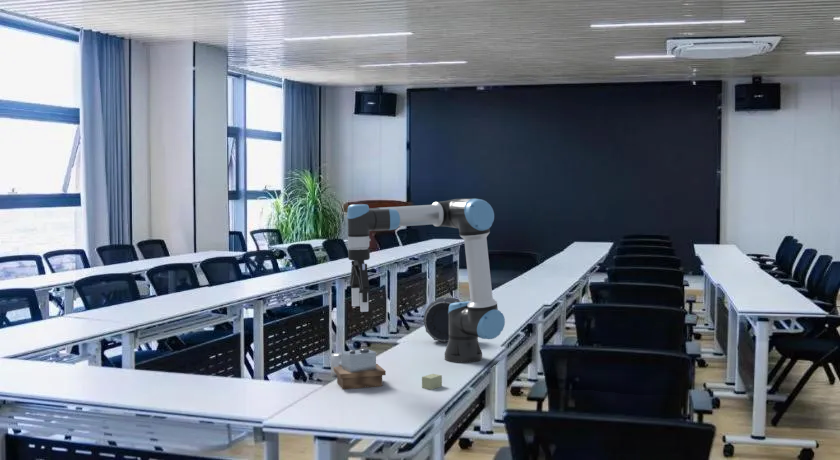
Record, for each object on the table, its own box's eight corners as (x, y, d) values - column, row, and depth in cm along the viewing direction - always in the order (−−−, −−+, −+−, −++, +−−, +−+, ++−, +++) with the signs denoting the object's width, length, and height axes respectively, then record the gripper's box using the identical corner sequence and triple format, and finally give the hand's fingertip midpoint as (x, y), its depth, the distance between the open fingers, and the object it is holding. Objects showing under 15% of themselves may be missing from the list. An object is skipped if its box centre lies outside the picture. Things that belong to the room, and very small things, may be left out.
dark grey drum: (467, 345, 365) (466, 299, 364) (422, 343, 369) (421, 298, 368) (470, 340, 375) (470, 296, 374) (426, 339, 379) (426, 295, 378)
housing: (350, 372, 289) (350, 353, 289) (341, 368, 296) (341, 349, 295) (376, 369, 295) (375, 349, 294) (367, 365, 301) (366, 346, 300)
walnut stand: (377, 378, 303) (377, 363, 303) (385, 386, 292) (385, 370, 292) (333, 382, 299) (333, 367, 299) (340, 390, 287) (340, 374, 287)
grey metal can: (345, 373, 313) (345, 352, 313) (349, 376, 308) (348, 355, 307) (329, 374, 312) (329, 353, 311) (332, 377, 306) (332, 356, 305)
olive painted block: (432, 384, 294) (432, 373, 294) (441, 386, 292) (441, 375, 291) (422, 388, 290) (421, 376, 289) (431, 390, 287) (430, 378, 287)
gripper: (377, 250, 282) (379, 313, 284) (361, 245, 306) (362, 303, 307) (356, 251, 280) (357, 314, 281) (341, 246, 304) (342, 304, 305)
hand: (360, 308), depth 294 cm, fingers open, 13 cm apart
